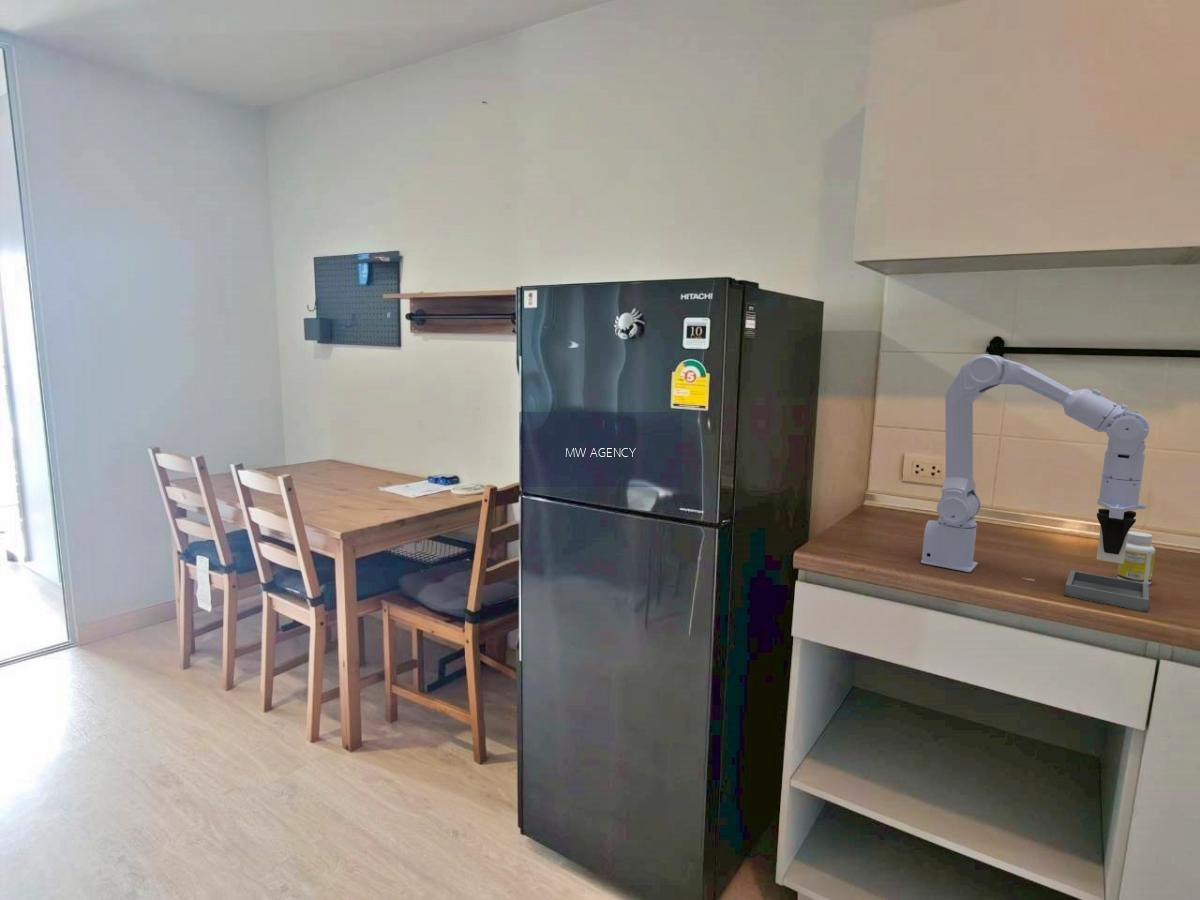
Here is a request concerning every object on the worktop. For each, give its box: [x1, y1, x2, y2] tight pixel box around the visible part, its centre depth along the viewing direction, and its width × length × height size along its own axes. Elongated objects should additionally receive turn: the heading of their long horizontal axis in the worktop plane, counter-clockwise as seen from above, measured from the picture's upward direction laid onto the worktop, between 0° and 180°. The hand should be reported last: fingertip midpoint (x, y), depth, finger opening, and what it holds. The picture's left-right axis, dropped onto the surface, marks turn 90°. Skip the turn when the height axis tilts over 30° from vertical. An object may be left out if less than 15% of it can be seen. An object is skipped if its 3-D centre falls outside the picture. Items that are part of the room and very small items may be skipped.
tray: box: [1063, 569, 1150, 613], centre depth 126 cm, size 12×12×2 cm
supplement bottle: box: [1116, 530, 1156, 586], centre depth 135 cm, size 5×5×10 cm
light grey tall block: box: [1096, 527, 1128, 564], centre depth 125 cm, size 4×4×7 cm
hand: (1111, 550), depth 125 cm, fingers closed on light grey tall block, 4 cm apart
